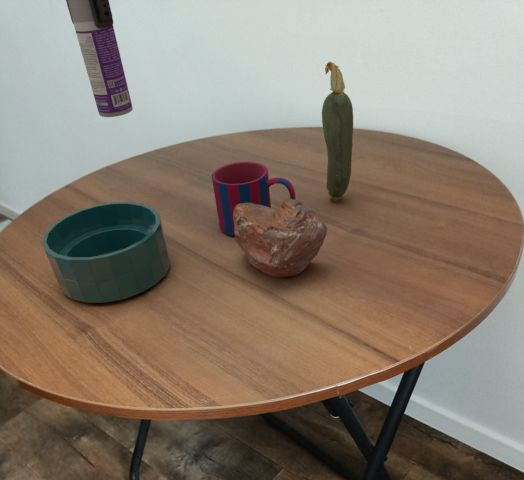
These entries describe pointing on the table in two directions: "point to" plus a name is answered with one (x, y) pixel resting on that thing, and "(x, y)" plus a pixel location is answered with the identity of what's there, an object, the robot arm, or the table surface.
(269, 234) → the stone
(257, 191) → the mug
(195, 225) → the table surface
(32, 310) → the table surface
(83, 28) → the container
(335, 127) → the vegetable
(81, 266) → the teal pet bowl
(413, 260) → the table surface
